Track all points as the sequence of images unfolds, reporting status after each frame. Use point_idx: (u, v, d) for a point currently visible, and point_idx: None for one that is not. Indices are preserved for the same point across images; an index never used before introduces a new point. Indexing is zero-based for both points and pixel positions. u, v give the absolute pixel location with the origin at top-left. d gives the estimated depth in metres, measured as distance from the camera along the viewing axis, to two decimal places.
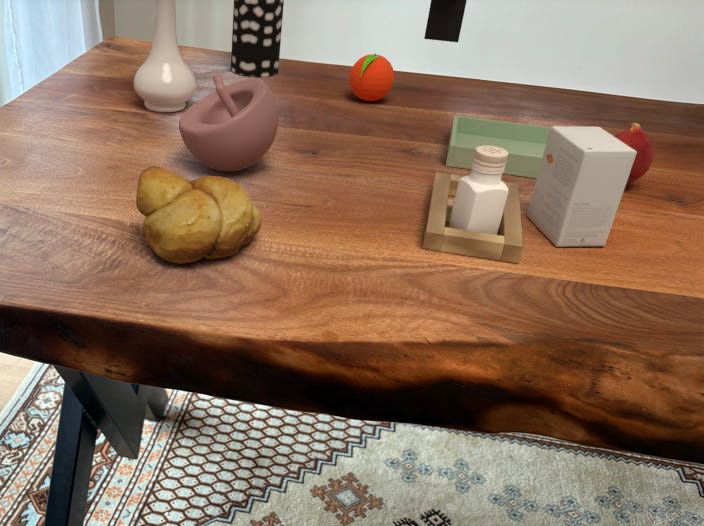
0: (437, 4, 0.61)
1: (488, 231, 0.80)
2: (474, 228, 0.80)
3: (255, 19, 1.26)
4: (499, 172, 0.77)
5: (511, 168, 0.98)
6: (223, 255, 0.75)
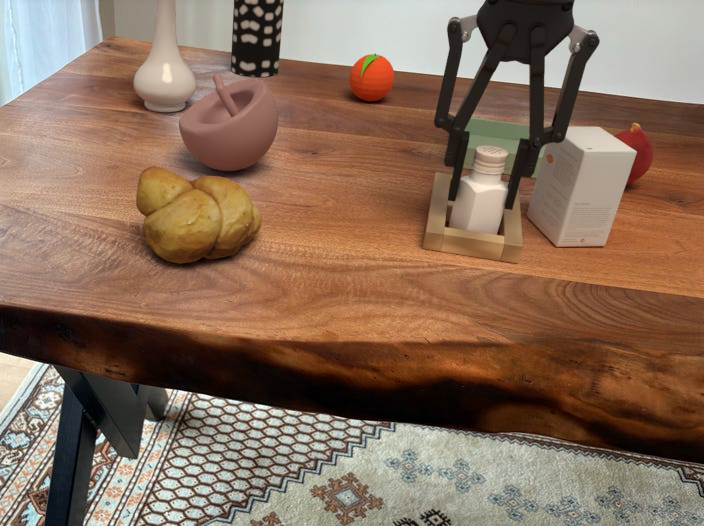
0: (518, 183, 0.77)
1: (488, 231, 0.80)
2: (474, 228, 0.80)
3: (255, 19, 1.26)
4: (499, 172, 0.77)
5: (511, 168, 0.98)
6: (223, 255, 0.75)
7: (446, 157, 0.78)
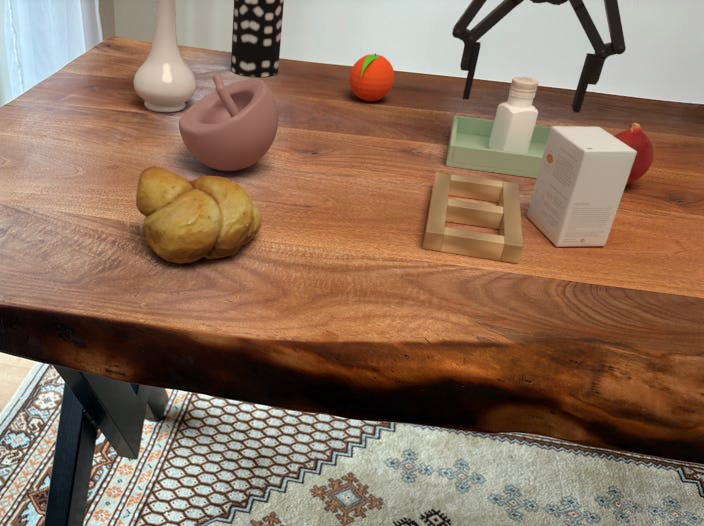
0: (585, 90, 0.96)
1: (521, 146, 1.01)
2: (510, 143, 1.00)
3: (255, 19, 1.26)
4: (531, 97, 0.97)
5: (511, 168, 0.98)
6: (223, 255, 0.75)
7: (462, 62, 0.98)
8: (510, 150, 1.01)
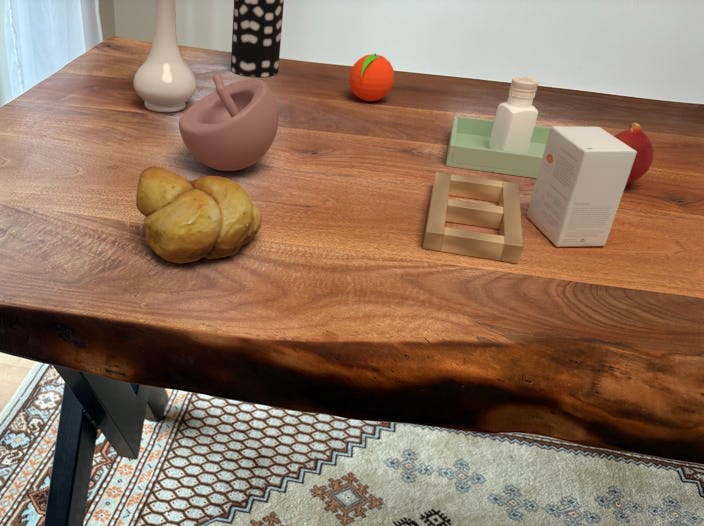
0: None
1: (521, 146, 1.01)
2: (510, 143, 1.00)
3: (255, 19, 1.26)
4: (531, 97, 0.97)
5: (511, 168, 0.98)
6: (223, 255, 0.75)
7: None
8: (510, 150, 1.01)
